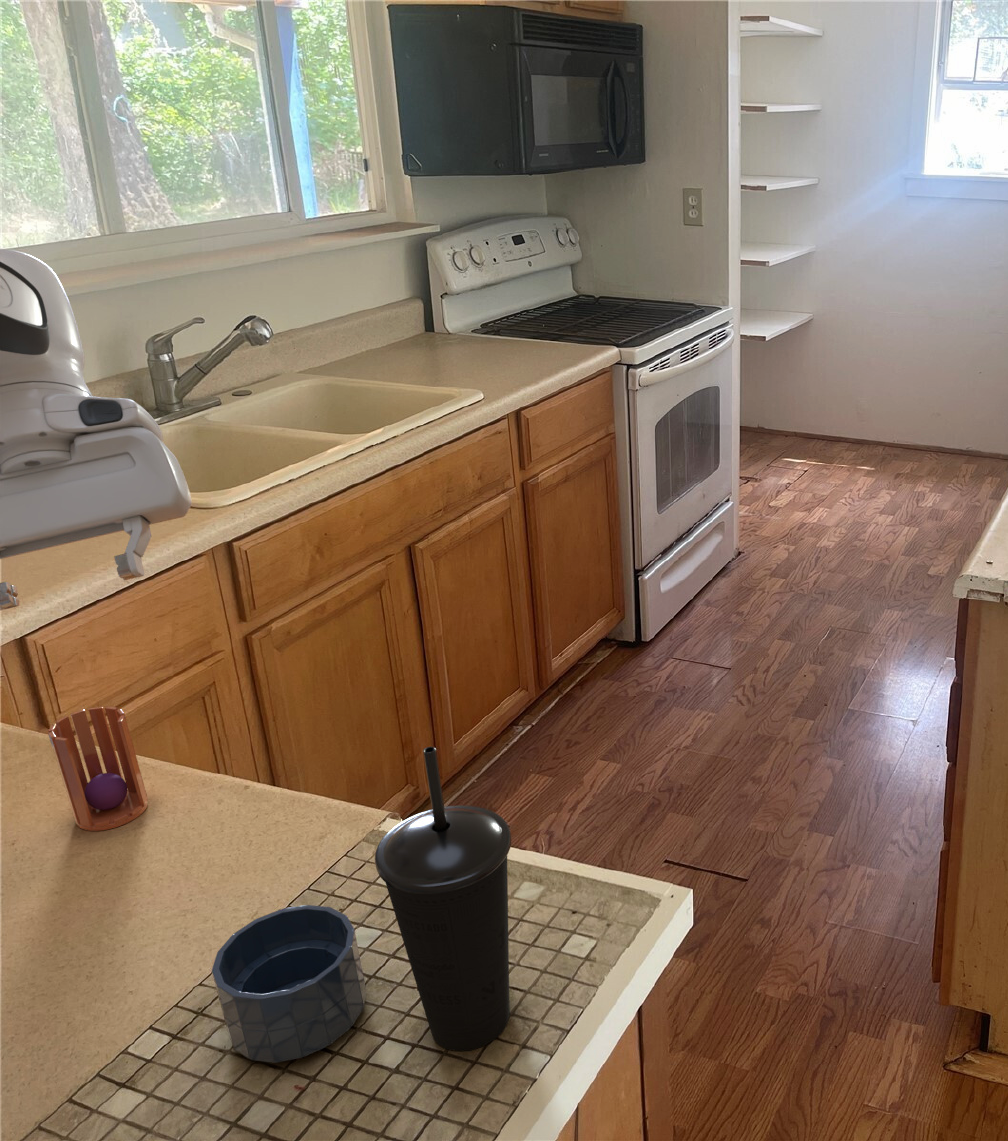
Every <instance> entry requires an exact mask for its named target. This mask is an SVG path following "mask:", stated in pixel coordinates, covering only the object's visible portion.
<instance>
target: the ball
mask: <svg viewBox="0 0 1008 1141" xmlns="http://www.w3.org/2000/svg"><path fill="white" fill-rule="evenodd" d="M127 790H128V788H127V784H126V781H125V778H122V777H120V776H119V775H116V774H113V773H107V772H103V774H100V775H97V776H96V777H94V778H93V779H91V780H90V779H89V781H88V784H87V786H86V789H85V798H86V801H87V802H88V804H89V805H90V806H92V807H93V808H95V809H98V810H110V809H113V808H115V807H117V806H119V805H120V804H121V803H122V802H123V801H124V799H125V798H126V795H127Z"/></svg>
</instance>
